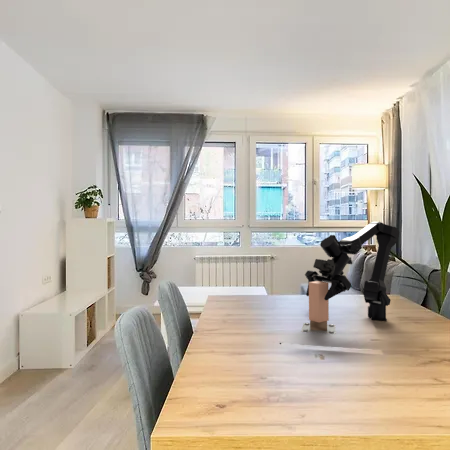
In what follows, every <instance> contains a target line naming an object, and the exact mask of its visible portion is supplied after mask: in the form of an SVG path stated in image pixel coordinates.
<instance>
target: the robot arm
mask: <svg viewBox="0 0 450 450" xmlns="http://www.w3.org/2000/svg"><path fill="white" fill-rule="evenodd" d="M374 236H376V241H377V244H378V248H377V251H376V256H375V260H374V263H373V264H374V265H373V269H372V273H371V277H370V279H368V280H366V281H364V284H363V288H362V293H363V294H362V296H363V298H364V301H365V303H366V304H368V306H367V317H368V319H371V320H373V321H387V320H388V319H387V307H388V306H389V305H390V304H391V298H390V297H389V296H388V294H387V287H386V284H385V277H386V272H387V269H388V263H389V259H390V255H391V250H392V248H393V247H394V246H395V245H396V244H397V242H398V239H399V236H400V230H399V229H398V228H397V227H396V226H392V225H389V224H385V223H383V222H382V221H371V222H369V223H368V224H367V225H366V226H364V227H363V228H362V229H361V230H359V231H358V232H356V233H355V234H353V235H352V236H347V237H345V238H342V239H340V240H338V239H337V236H336V235H334V234H330V235H329V236H328V237H325V238H324V239H321V242H320V243H319V246H320V247H321V249H322V250H323V251H324V253H325V254H326V255H327V257H329V258H331V259H329V258H328V259H327V260H326V259H325V260H324V259H320V258H319V259H318V258H316V259H315V260H314V263H313V265H312V266H313V268H314V269H316V270H318V272H319V273H318V272H317V271H315V270H307V271H306V272H305V274H304V276H305V277H306V279H307V280H308V283H307V288H306V289H307V290H306V293H305V295H306V297H309V282H314V281H322V282H328V284H330V287H328V292H327V294H326V296H325V298H324V299H325V300H328V299H329V300H330V299H331V298H333V297H335V296H337V295H339V294H341V293H344V292H346V291H349V290H350V289H351V288H352V283H351V281H350V280H349V279H348V278H347V276H346V275H344V273H345V272H344V269H345V268H346V266H347V265H352V264H353V261H352V257H351V256H349V255H357V254H358V253H359V252H360V251H361V250H362V248H363V245H364V244H365V243H366V242H368V241H369V240H371V239H372V238H373V237H374Z"/></svg>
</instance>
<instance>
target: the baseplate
mask: <svg viewBox="0 0 450 450" xmlns="http://www.w3.org/2000/svg"><path fill="white" fill-rule="evenodd" d="M336 325H337V324H333V323H329V324H327V331H319V330H310V322H303V324H302V328H301V331H300V332H302V333H311V334H312V333H314V334H329V335H330V334H332V335H336V334H337V331H336Z"/></svg>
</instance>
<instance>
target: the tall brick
mask: <svg viewBox="0 0 450 450" xmlns="http://www.w3.org/2000/svg"><path fill="white" fill-rule="evenodd" d="M328 290H329V283H328V282H324V281H314V282H309V296H308V320H309V321H310V320H312V321H315V322H324V321H327V322H328V321H329V315H330V314H329V313H330V311H329V307H330V306H329V304H330V302H329V300H330V299H328V300H325V299H324V298H325V296H326V294H327V292H328Z"/></svg>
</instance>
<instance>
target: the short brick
mask: <svg viewBox="0 0 450 450" xmlns="http://www.w3.org/2000/svg"><path fill="white" fill-rule="evenodd" d="M309 324H310V330H319V331H327V325H328V321H324V322H315V321H312V320H309Z"/></svg>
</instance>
